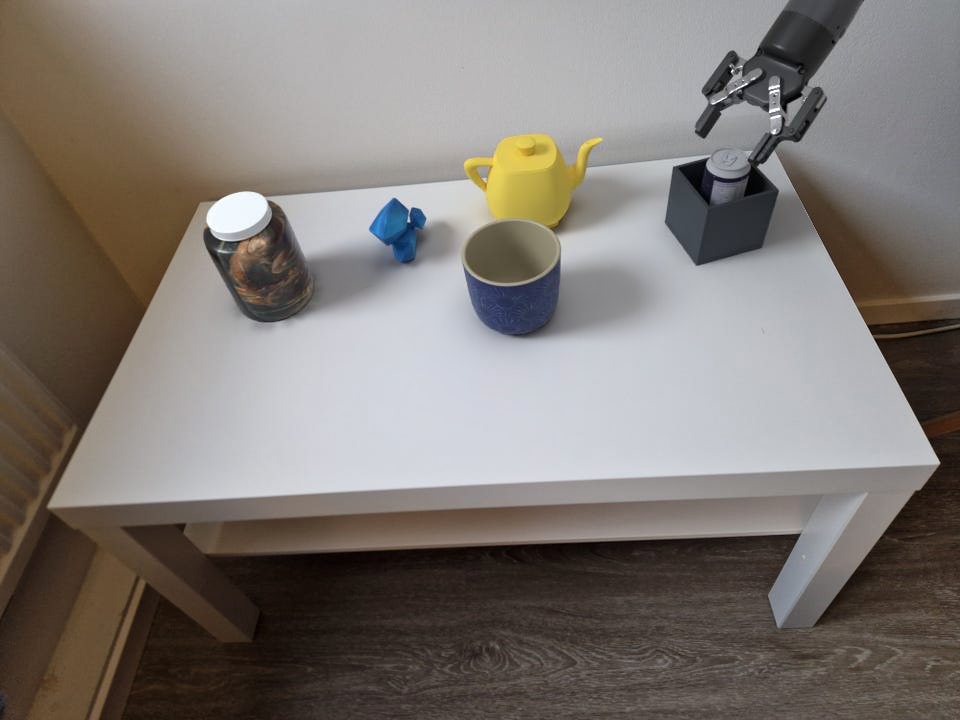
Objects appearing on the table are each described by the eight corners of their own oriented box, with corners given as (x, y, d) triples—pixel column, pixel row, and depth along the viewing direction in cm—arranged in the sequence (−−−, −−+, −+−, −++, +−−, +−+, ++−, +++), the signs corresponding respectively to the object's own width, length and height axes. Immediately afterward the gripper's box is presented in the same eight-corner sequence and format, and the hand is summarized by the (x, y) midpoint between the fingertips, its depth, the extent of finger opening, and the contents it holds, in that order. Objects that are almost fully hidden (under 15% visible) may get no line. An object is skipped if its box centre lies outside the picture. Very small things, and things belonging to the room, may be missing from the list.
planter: (461, 291, 94) (450, 231, 85) (544, 268, 95) (542, 207, 86) (484, 355, 86) (475, 296, 77) (574, 330, 87) (575, 269, 79)
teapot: (604, 234, 98) (608, 162, 88) (470, 244, 100) (460, 175, 90) (594, 179, 106) (597, 108, 97) (471, 189, 108) (461, 121, 98)
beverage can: (741, 225, 95) (760, 153, 86) (724, 248, 93) (741, 176, 83) (704, 212, 98) (718, 140, 88) (686, 234, 95) (699, 163, 86)
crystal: (426, 184, 99) (414, 220, 89) (433, 236, 104) (422, 275, 95) (378, 186, 100) (360, 222, 90) (387, 238, 105) (372, 277, 96)
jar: (220, 306, 97) (173, 226, 85) (273, 256, 103) (235, 175, 91) (280, 332, 92) (238, 252, 81) (331, 278, 98) (300, 196, 86)
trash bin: (726, 205, 99) (740, 148, 92) (762, 247, 93) (779, 190, 85) (664, 222, 98) (672, 166, 91) (696, 265, 92) (707, 209, 84)
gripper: (750, -8, 79) (670, 117, 85) (857, 30, 72) (760, 164, 77) (770, 22, 85) (693, 137, 91) (870, 60, 77) (780, 183, 83)
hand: (724, 149), depth 84 cm, fingers open, 8 cm apart
